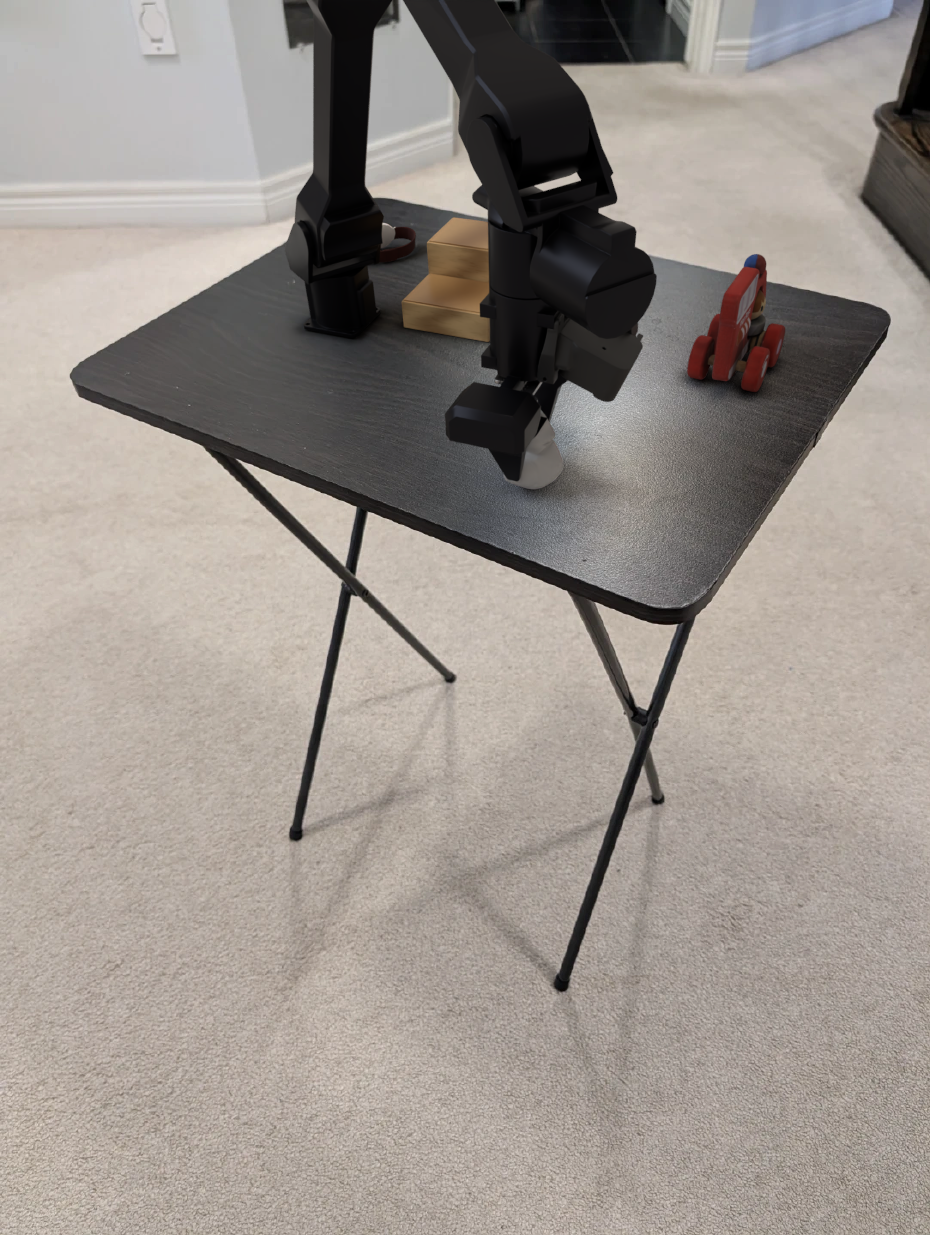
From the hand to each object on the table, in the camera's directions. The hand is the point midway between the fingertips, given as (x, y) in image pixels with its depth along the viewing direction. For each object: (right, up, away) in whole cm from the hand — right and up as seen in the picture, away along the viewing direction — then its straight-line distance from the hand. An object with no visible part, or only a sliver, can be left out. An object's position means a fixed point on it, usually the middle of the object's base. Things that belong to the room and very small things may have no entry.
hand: (525, 460), depth 75 cm
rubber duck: (0, -1, +2) cm, 2 cm away
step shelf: (-4, +22, +24) cm, 33 cm away
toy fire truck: (+22, +11, +13) cm, 27 cm away
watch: (-15, +31, +35) cm, 49 cm away
